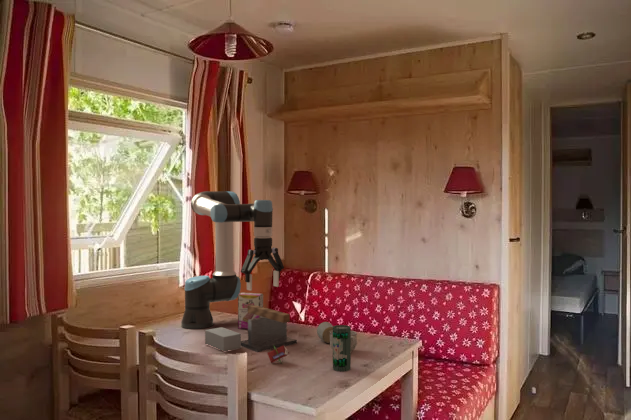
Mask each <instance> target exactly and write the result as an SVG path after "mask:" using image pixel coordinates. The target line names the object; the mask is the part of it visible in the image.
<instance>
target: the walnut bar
mask: <svg viewBox="0 0 631 420" xmlns="http://www.w3.org/2000/svg"><path fill="white" fill-rule="evenodd" d="M248 313H251V314H255V315H258V316H262V317H265V318H269V319H272V320H275V321H279V322H282V323H285V322H287V323H290V320H291V319H290V313H286V312H283V311H279V310H274V309H272V308H267V307H264V306H263V307H260V306H256V305H248Z"/></svg>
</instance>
